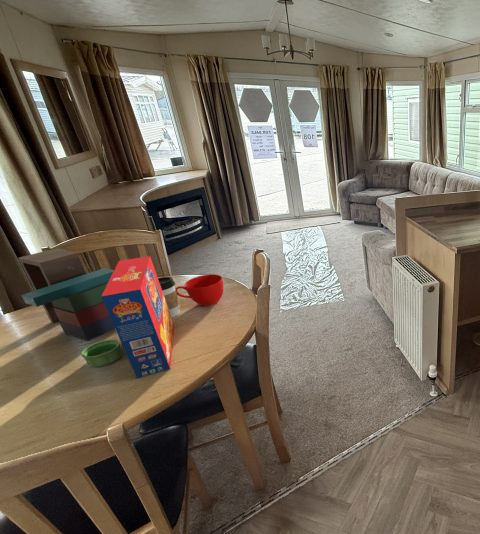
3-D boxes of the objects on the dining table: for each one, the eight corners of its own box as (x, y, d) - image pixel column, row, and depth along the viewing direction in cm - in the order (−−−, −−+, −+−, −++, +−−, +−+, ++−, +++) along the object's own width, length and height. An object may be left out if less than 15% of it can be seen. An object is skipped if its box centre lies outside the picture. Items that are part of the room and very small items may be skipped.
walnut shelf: (51, 322, 125) (17, 257, 115) (83, 309, 134) (55, 248, 123) (72, 328, 122) (39, 262, 112) (104, 314, 131) (77, 252, 120)
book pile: (65, 334, 119) (44, 293, 112) (116, 312, 133) (101, 274, 126) (87, 341, 116) (67, 299, 109) (138, 317, 130) (123, 279, 123)
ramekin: (101, 370, 103) (96, 358, 101) (78, 365, 105) (72, 354, 103) (131, 352, 111) (127, 341, 109) (109, 348, 113) (104, 337, 111)
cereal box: (170, 368, 104) (140, 289, 93) (136, 378, 100) (101, 296, 89) (174, 325, 126) (150, 256, 114) (146, 331, 122) (119, 260, 110)
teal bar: (25, 303, 106) (20, 294, 105) (106, 275, 125) (103, 268, 124) (37, 306, 104) (32, 298, 103) (117, 278, 124) (115, 270, 122)
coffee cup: (174, 320, 129) (162, 285, 123) (152, 320, 128) (139, 285, 122) (189, 309, 136) (178, 275, 130) (167, 308, 136) (156, 275, 130)
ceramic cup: (184, 299, 143) (177, 278, 139) (229, 292, 149) (224, 272, 145) (175, 314, 132) (168, 292, 128) (225, 306, 139) (219, 285, 135)
